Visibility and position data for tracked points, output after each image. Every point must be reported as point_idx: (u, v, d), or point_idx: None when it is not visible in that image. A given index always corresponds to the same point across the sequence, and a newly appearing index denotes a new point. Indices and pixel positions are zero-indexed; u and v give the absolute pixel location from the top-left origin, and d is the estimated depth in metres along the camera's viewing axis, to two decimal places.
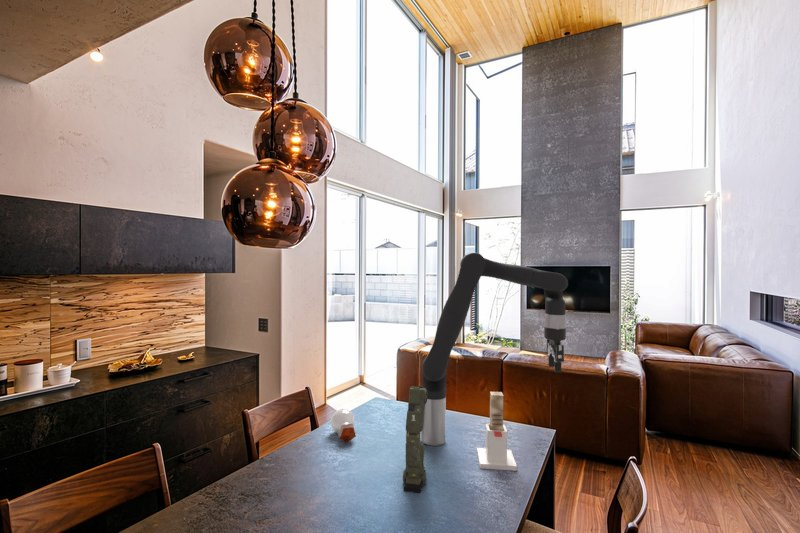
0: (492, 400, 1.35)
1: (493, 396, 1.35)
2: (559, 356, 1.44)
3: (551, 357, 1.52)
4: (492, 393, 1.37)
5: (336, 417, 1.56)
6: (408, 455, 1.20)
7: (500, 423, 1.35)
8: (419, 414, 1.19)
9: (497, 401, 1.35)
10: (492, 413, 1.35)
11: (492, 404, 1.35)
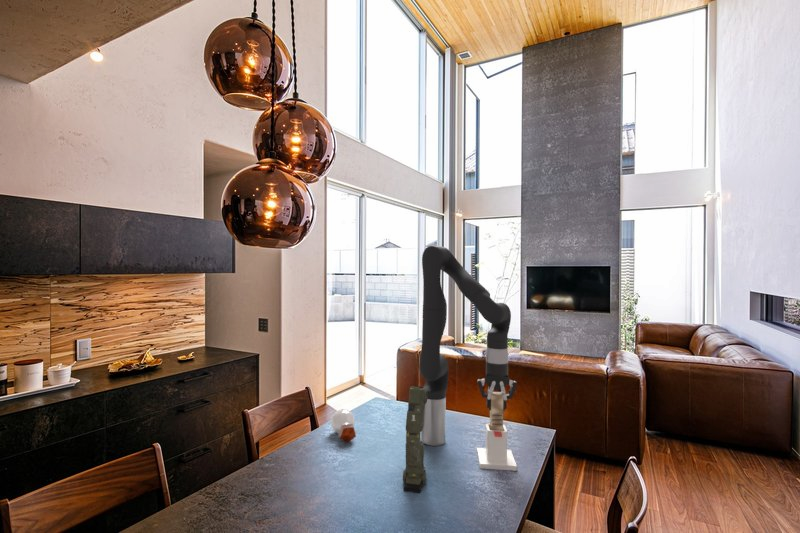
0: (492, 400, 1.35)
1: (493, 396, 1.35)
2: None
3: (490, 399, 1.37)
4: (492, 393, 1.37)
5: (336, 417, 1.56)
6: (408, 455, 1.20)
7: (500, 423, 1.35)
8: (419, 414, 1.19)
9: (497, 401, 1.35)
10: (492, 413, 1.35)
11: (492, 404, 1.35)
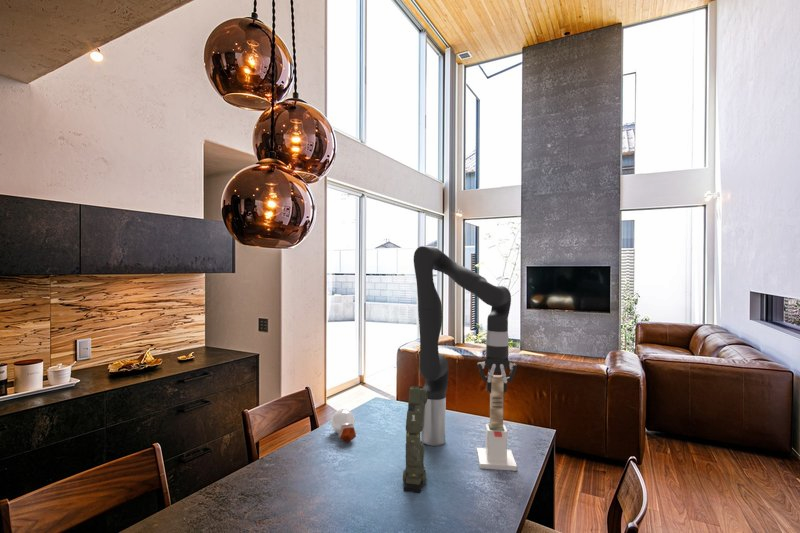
0: (492, 383, 1.36)
1: (493, 379, 1.36)
2: None
3: (490, 382, 1.37)
4: (492, 376, 1.37)
5: (336, 417, 1.56)
6: (408, 455, 1.20)
7: (500, 406, 1.35)
8: (419, 414, 1.19)
9: (497, 384, 1.35)
10: (492, 396, 1.36)
11: (492, 387, 1.36)
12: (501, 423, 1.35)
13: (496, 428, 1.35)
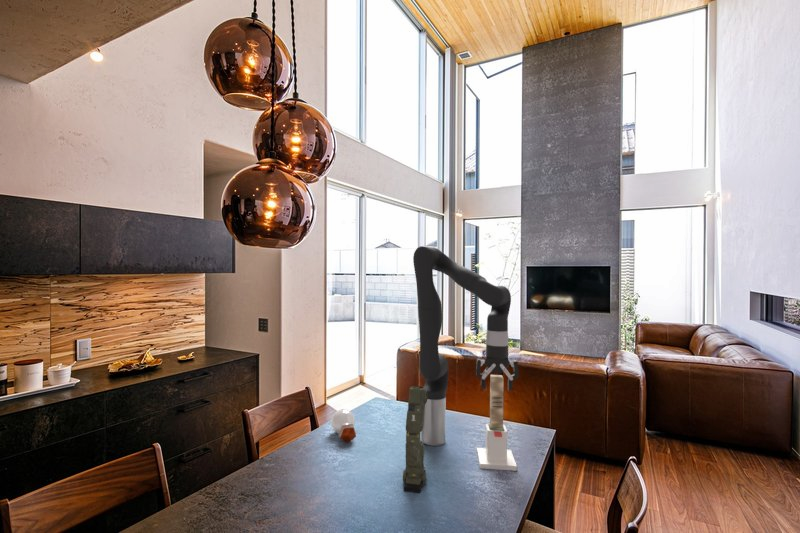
0: (492, 383, 1.36)
1: (493, 379, 1.36)
2: None
3: None
4: (492, 376, 1.37)
5: (336, 417, 1.56)
6: (408, 455, 1.20)
7: (500, 406, 1.35)
8: (419, 414, 1.19)
9: (497, 383, 1.35)
10: (492, 396, 1.36)
11: (492, 387, 1.36)
12: (501, 423, 1.35)
13: (496, 428, 1.35)
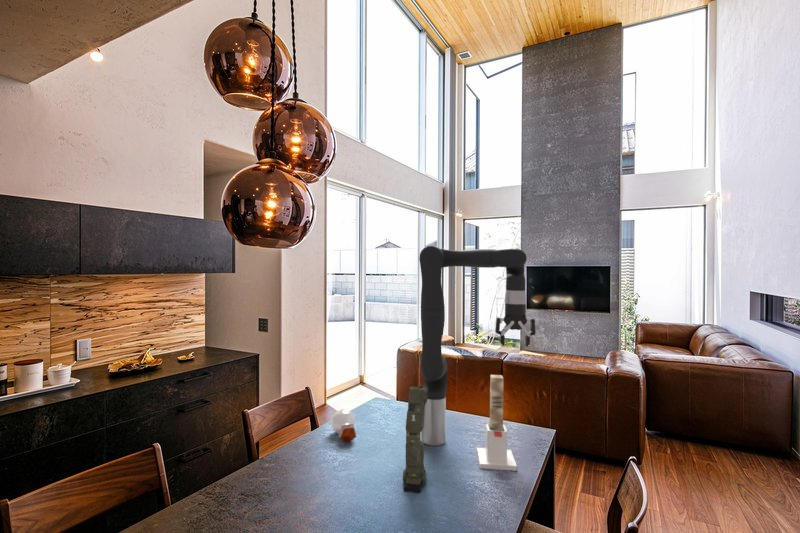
0: (492, 383, 1.36)
1: (493, 379, 1.36)
2: None
3: None
4: (492, 376, 1.37)
5: (336, 417, 1.56)
6: (408, 455, 1.20)
7: (500, 406, 1.35)
8: (419, 414, 1.19)
9: (497, 383, 1.35)
10: (492, 396, 1.36)
11: (492, 387, 1.36)
12: (501, 423, 1.35)
13: (496, 428, 1.35)
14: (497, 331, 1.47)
